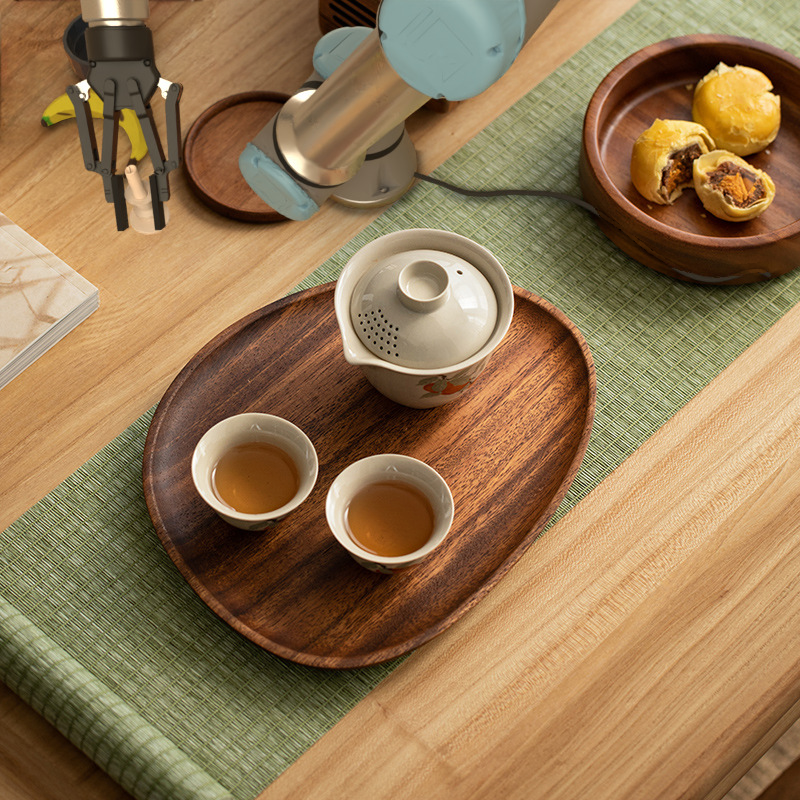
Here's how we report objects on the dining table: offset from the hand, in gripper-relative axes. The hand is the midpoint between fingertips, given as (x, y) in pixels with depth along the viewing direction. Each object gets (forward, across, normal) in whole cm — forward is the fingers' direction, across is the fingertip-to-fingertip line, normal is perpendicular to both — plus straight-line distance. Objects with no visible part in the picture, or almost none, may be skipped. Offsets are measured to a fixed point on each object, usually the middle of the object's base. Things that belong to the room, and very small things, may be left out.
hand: (141, 228), depth 114 cm
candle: (0, 0, -5) cm, 5 cm away
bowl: (-20, +12, -41) cm, 47 cm away
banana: (-8, +13, -30) cm, 34 cm away
